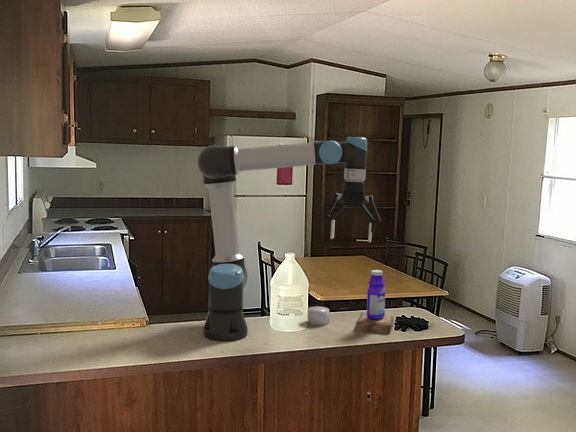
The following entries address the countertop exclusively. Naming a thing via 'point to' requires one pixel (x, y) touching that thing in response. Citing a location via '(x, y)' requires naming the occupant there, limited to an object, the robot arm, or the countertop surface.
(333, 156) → the robot arm
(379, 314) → the bottle
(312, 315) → the grey rounded block
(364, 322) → the base
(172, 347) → the countertop surface
